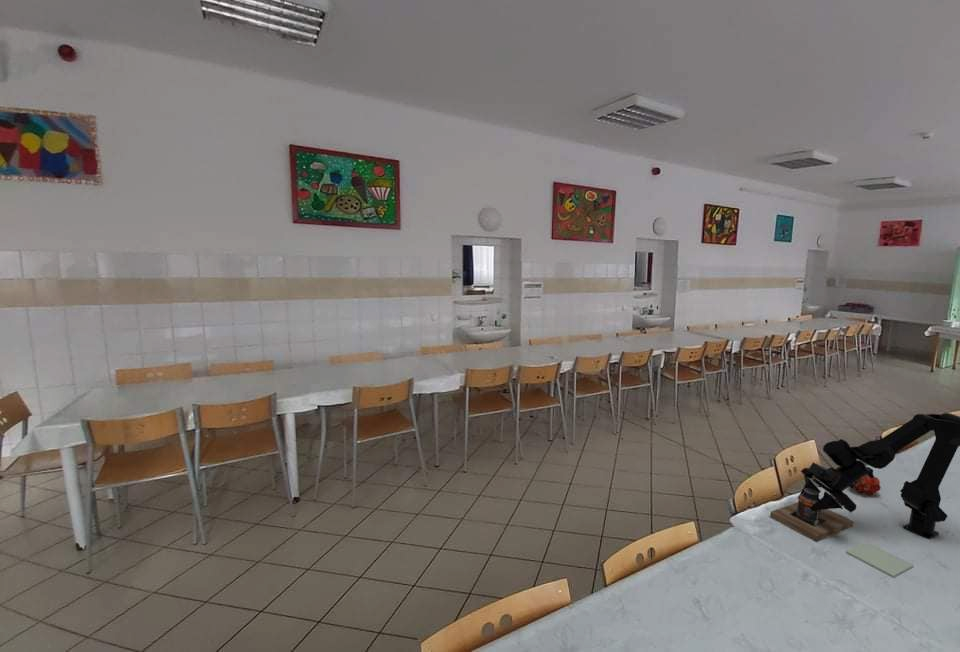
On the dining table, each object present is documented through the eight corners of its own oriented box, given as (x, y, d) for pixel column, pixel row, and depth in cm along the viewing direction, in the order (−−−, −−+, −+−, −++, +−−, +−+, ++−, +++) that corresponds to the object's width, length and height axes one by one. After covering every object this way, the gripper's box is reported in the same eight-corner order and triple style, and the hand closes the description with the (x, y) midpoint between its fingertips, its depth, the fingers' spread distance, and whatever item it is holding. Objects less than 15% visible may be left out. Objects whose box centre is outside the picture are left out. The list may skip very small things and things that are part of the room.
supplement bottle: (822, 529, 137) (827, 497, 136) (801, 527, 139) (806, 494, 137) (812, 519, 143) (816, 487, 142) (792, 516, 144) (796, 485, 143)
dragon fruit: (847, 497, 160) (869, 497, 164) (872, 494, 153) (894, 494, 157) (838, 474, 164) (859, 474, 168) (861, 470, 157) (883, 470, 161)
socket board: (805, 504, 152) (806, 499, 152) (852, 526, 140) (853, 521, 139) (770, 517, 144) (770, 511, 144) (816, 541, 131) (817, 535, 131)
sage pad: (866, 543, 131) (866, 541, 131) (913, 566, 121) (913, 564, 121) (845, 552, 127) (846, 550, 126) (893, 577, 117) (893, 575, 117)
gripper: (810, 445, 146) (772, 473, 149) (851, 471, 128) (807, 502, 131) (831, 468, 147) (793, 495, 149) (875, 497, 128) (831, 528, 131)
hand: (805, 504), depth 140 cm, fingers closed on supplement bottle, 6 cm apart
